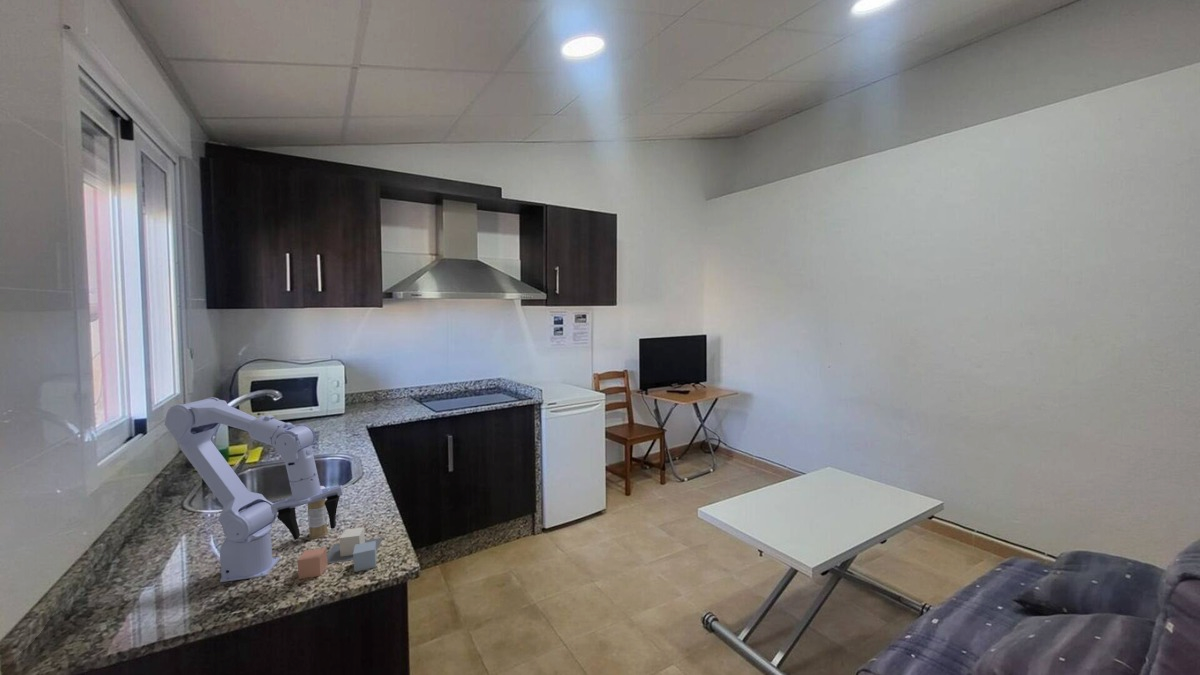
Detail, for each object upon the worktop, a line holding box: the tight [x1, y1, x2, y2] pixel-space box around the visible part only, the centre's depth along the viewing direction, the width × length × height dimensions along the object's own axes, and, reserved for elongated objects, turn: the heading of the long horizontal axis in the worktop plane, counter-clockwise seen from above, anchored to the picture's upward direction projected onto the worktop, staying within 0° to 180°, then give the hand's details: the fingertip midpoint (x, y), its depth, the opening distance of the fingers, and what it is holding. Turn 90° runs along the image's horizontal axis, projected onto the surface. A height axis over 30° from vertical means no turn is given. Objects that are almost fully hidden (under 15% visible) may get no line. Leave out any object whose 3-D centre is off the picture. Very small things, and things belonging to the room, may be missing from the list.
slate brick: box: [352, 541, 378, 572], centre depth 113 cm, size 5×5×5 cm
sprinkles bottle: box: [307, 485, 329, 539], centre depth 128 cm, size 5×5×13 cm
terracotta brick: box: [297, 547, 328, 580], centre depth 110 cm, size 5×5×5 cm
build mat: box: [327, 537, 383, 564], centre depth 120 cm, size 12×10×1 cm
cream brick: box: [338, 527, 366, 556], centre depth 119 cm, size 5×5×5 cm
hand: (315, 532), depth 110 cm, fingers open, 7 cm apart
